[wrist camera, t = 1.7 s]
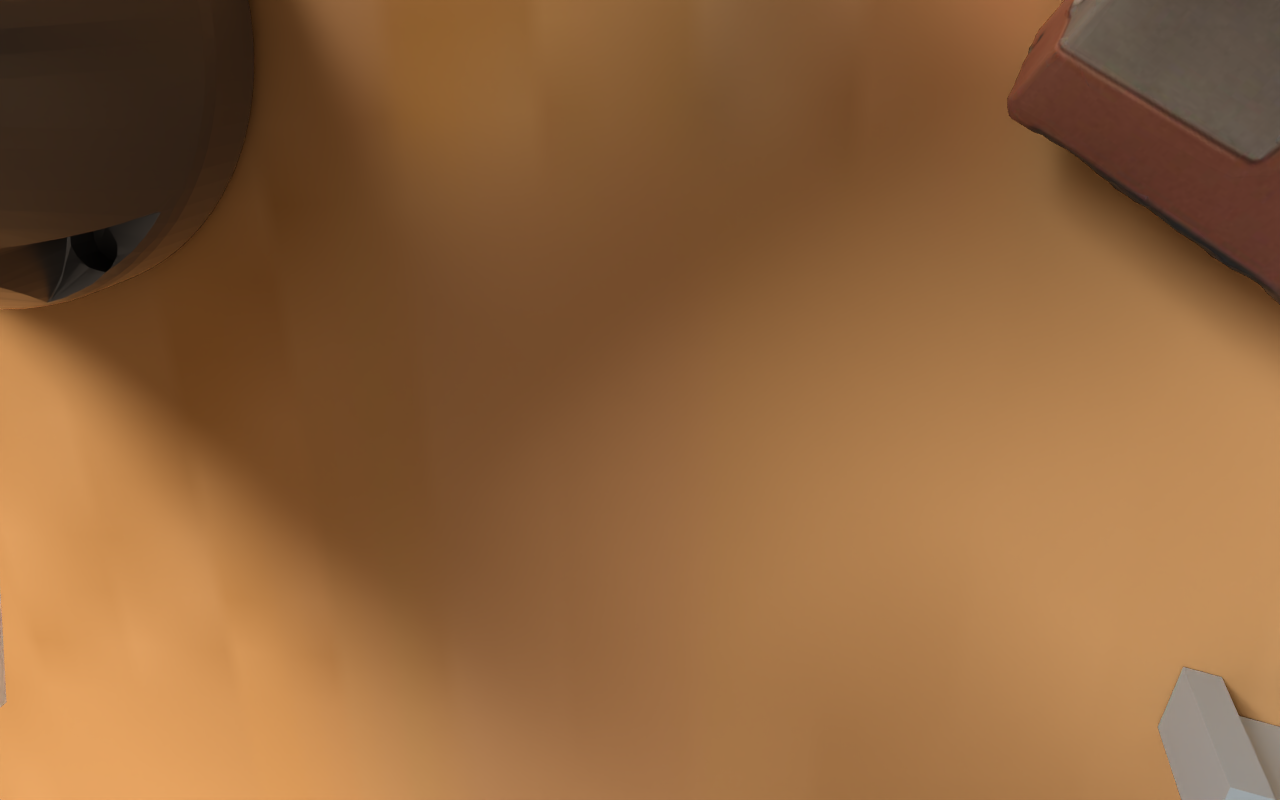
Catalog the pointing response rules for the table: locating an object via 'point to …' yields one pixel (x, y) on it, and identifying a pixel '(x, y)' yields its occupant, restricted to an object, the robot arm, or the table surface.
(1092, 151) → the electronic device
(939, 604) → the table surface
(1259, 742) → the walled box
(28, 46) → the robot arm
